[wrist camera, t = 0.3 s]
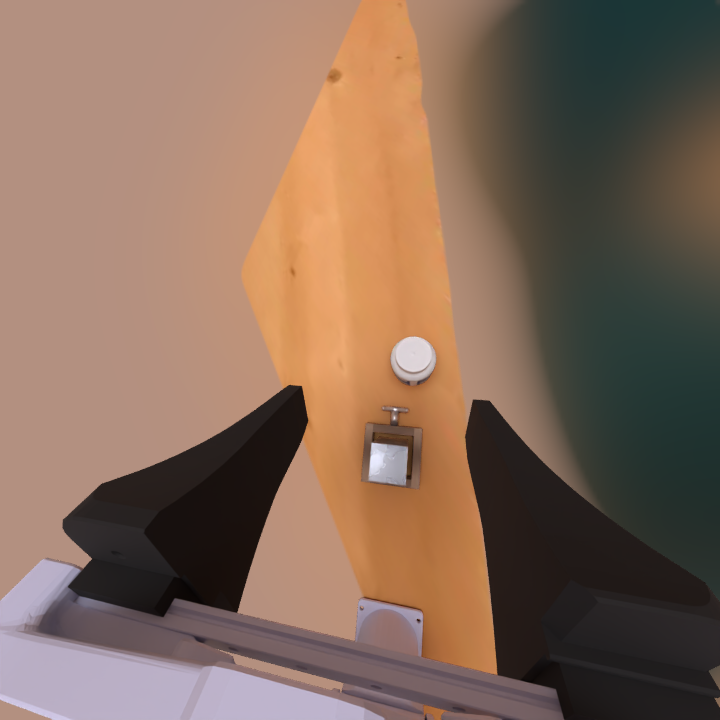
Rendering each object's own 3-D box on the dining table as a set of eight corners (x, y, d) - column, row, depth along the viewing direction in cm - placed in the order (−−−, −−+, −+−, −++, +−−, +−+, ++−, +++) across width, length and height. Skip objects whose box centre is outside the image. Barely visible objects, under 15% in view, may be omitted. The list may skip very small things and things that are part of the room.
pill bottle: (430, 347, 40) (436, 327, 31) (433, 384, 39) (441, 376, 30) (392, 350, 41) (387, 332, 31) (394, 387, 40) (390, 379, 30)
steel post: (406, 470, 38) (405, 485, 30) (376, 466, 38) (368, 480, 31) (408, 439, 38) (407, 446, 31) (379, 436, 39) (371, 442, 31)
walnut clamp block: (418, 485, 37) (419, 489, 35) (363, 477, 38) (361, 481, 36) (422, 409, 39) (423, 408, 37) (369, 404, 40) (367, 404, 38)
